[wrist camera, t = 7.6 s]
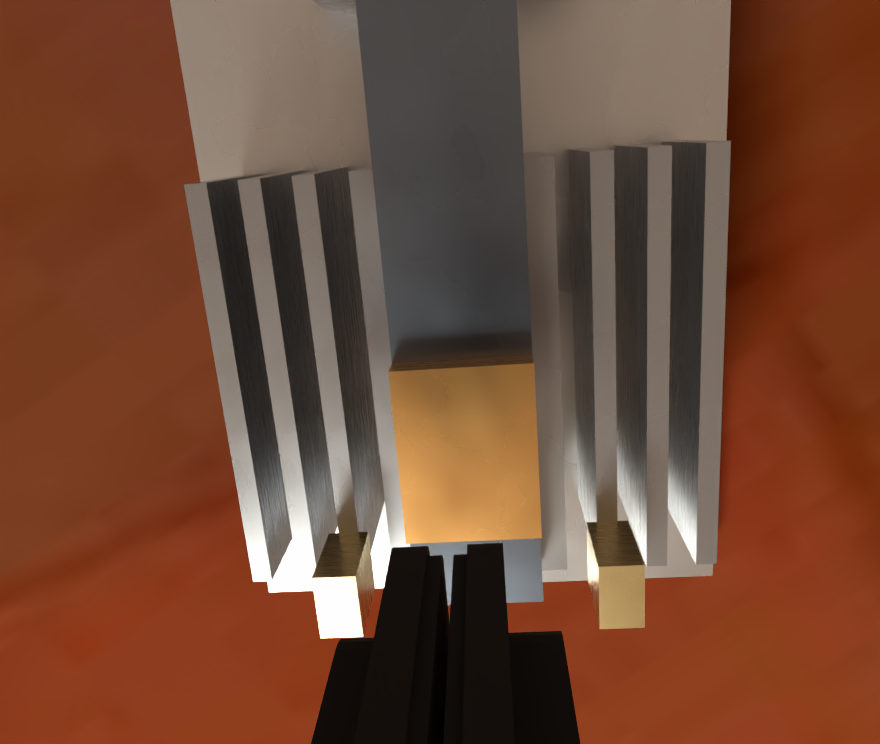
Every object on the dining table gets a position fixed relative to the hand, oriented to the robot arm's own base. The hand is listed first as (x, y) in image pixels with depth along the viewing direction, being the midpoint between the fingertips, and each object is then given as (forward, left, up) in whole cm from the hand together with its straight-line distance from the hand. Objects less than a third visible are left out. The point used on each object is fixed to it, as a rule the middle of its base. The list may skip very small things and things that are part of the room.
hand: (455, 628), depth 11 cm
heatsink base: (-4, 0, -12) cm, 13 cm away
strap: (-5, 0, -7) cm, 9 cm away
